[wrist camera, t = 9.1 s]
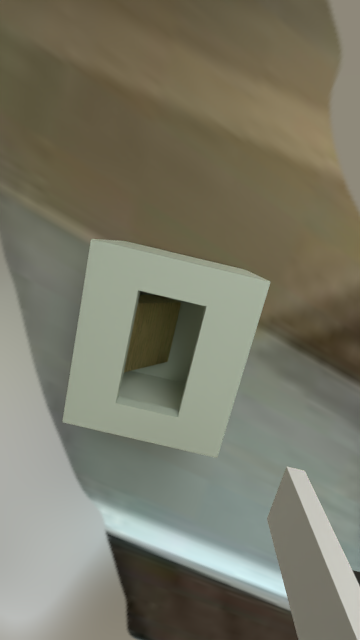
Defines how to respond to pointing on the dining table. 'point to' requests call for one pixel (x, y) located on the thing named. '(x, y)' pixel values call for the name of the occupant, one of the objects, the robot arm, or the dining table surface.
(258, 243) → the dining table surface
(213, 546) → the dining table surface
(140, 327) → the tan wooden block
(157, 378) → the box
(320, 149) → the dining table surface
